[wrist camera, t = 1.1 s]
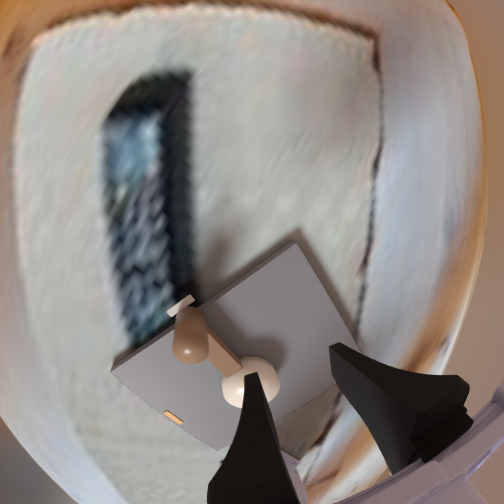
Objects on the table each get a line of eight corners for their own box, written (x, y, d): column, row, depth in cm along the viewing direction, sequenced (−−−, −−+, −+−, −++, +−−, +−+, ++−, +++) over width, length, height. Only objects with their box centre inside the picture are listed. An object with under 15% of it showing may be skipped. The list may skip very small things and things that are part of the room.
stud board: (361, 356, 27) (366, 362, 26) (216, 444, 27) (217, 451, 26) (281, 223, 21) (286, 226, 20) (100, 354, 21) (97, 361, 20)
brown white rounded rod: (284, 377, 24) (299, 408, 20) (241, 403, 24) (249, 435, 20) (207, 289, 20) (209, 316, 16) (157, 324, 20) (150, 356, 16)
